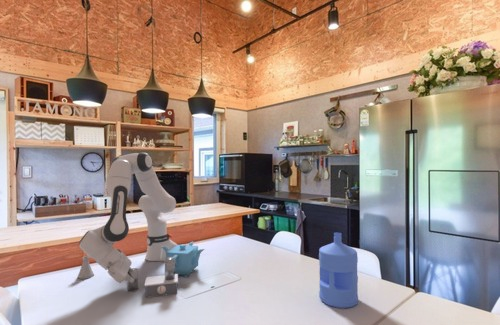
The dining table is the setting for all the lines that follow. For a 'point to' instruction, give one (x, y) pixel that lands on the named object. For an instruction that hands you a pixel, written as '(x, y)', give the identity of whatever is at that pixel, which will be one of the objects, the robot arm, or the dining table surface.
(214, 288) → the dining table surface
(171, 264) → the cylinder
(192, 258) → the teakettle
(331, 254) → the water jug
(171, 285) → the scale
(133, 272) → the ball
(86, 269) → the flask
